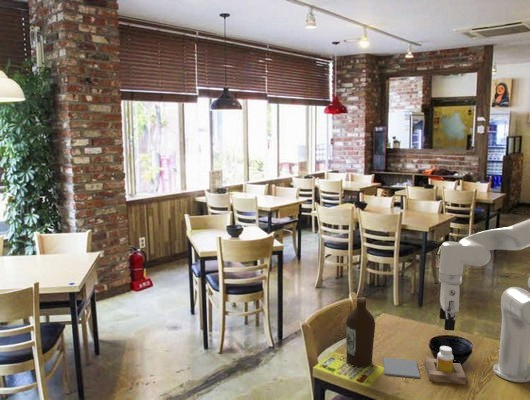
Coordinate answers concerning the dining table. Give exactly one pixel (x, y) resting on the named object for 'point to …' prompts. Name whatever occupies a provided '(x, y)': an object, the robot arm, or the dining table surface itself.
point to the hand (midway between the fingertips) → (446, 324)
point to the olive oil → (360, 335)
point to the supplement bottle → (445, 359)
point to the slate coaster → (400, 367)
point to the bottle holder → (444, 373)
